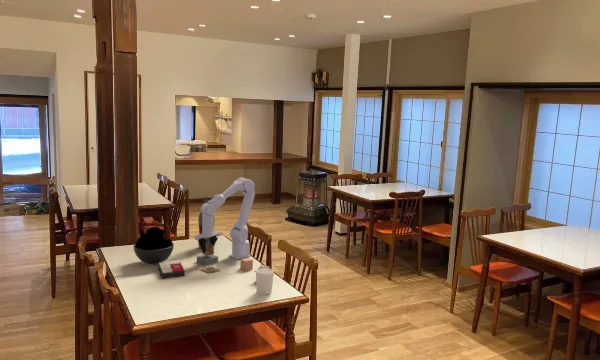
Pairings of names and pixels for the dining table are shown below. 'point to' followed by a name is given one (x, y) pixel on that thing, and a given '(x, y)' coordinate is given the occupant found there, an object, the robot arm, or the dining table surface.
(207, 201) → the bottle
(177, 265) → the black and red box
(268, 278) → the white cylinder
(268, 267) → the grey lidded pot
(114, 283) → the dining table surface
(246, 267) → the terracotta block
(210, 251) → the walnut block
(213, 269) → the tile
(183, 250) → the dining table surface
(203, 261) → the base block
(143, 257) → the coal bowl
